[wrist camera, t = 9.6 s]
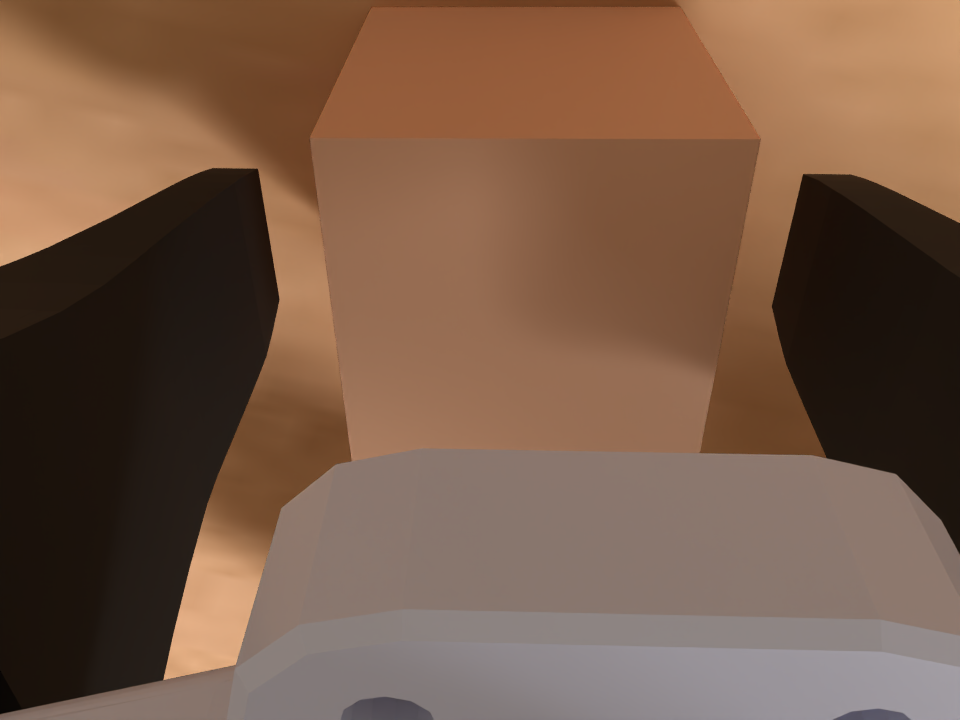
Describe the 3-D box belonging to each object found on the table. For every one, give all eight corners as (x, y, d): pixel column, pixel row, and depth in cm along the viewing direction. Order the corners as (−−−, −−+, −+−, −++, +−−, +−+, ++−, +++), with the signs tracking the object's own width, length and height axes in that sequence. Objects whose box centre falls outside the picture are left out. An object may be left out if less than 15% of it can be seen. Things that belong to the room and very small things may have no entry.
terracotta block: (646, 272, 15) (696, 469, 11) (392, 270, 15) (352, 465, 11) (679, 5, 13) (761, 138, 9) (371, 5, 13) (308, 138, 9)
